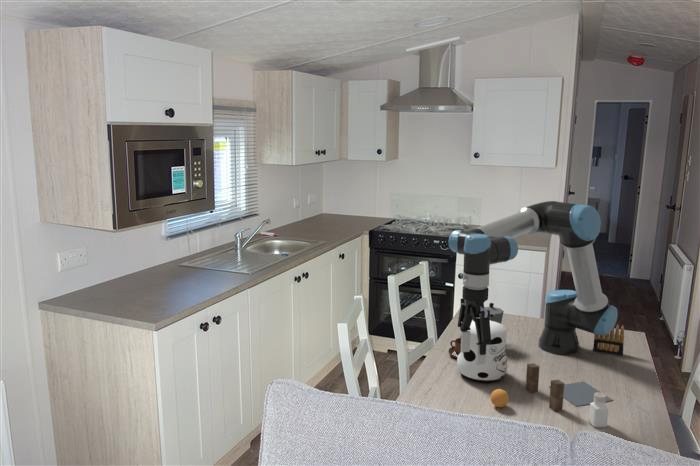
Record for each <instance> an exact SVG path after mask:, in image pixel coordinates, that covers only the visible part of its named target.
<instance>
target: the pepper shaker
mask: <svg viewBox="0 0 700 466" xmlns="http://www.w3.org/2000/svg"><path fill="white" fill-rule="evenodd" d="M606 396H607V395H606V394H605V393H603V392H601V393H599V392H597V393H594V402H592V403H590V404H589V412H588V413H589V414H588V416H589V417H588V422H589V423H590V424H591V425H592V427H594V428H607V426H608V415H609V407H608V406H607V405H606Z"/></svg>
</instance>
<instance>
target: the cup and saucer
mask: <svg viewBox="0 0 700 466" xmlns="http://www.w3.org/2000/svg"><path fill="white" fill-rule="evenodd" d="M453 343H454V345H453ZM449 344H450V348H449V349H448V354H449V355H450V356H451V357H453V358H454V359H457V357H456V356H454V355H452V353H453V352H454V351H455V352H456V354H457V355H458V354H459V351H460V345H461V337H457V338H456V339H455V340H451V341H450V343H449Z"/></svg>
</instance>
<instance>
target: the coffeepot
mask: <svg viewBox="0 0 700 466" xmlns="http://www.w3.org/2000/svg"><path fill="white" fill-rule="evenodd" d="M494 304H495V303H493V302H490V303H489V305H488V306H484V309H485V310H489V311H490V318H489V319H490V321H494V322H498V323H500V324H502V321H503V316H504V310H503V309H501V308H500V307H497V306H496V307H495V305H494Z"/></svg>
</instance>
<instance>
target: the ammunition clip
mask: <svg viewBox="0 0 700 466" xmlns="http://www.w3.org/2000/svg"><path fill="white" fill-rule="evenodd" d="M593 335H594V336H593V337H594V338H593V347H592V352H595V353H602V354H607V355H615V356H624V345H625V326H624V325H623V324H622V326H621V327H620V325H619V324H617V325H616V327H615V326H614V327H613V329H612V330H611V332H610V333H609V334H607V335H604V336H602V335H598V334H593Z"/></svg>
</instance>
